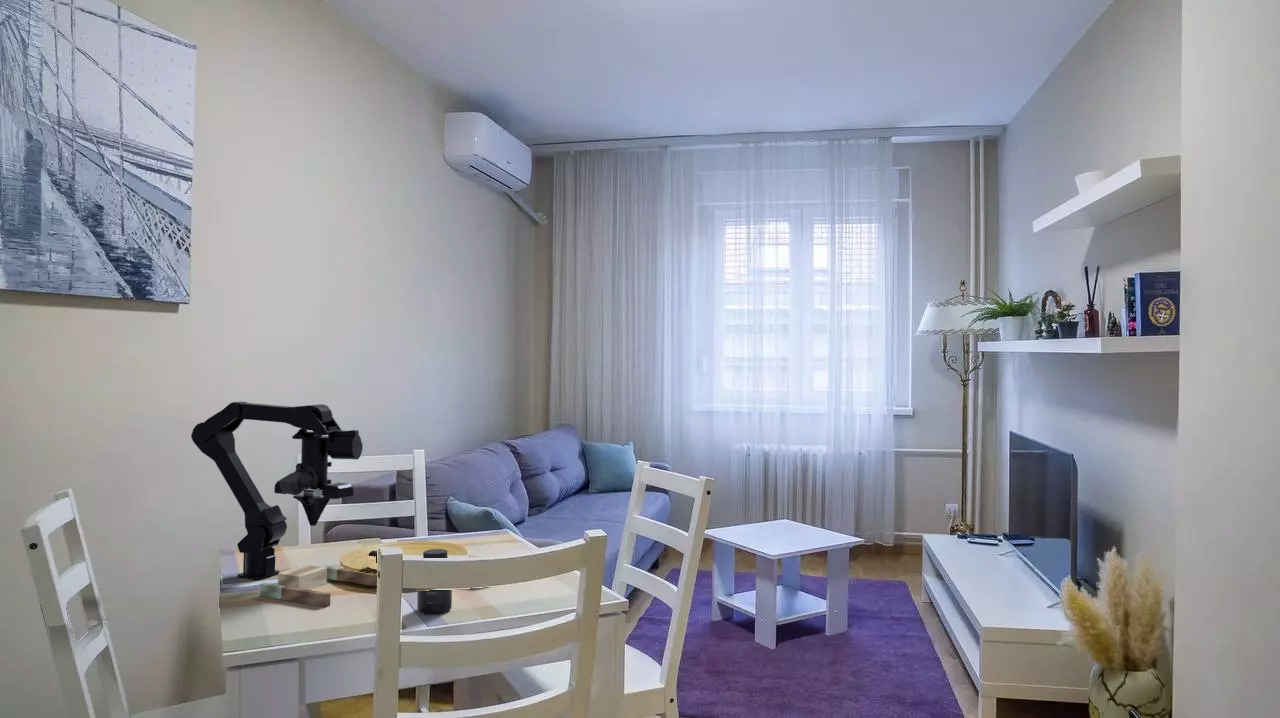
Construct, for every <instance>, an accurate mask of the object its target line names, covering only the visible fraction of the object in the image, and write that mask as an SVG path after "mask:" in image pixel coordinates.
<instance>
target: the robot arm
mask: <svg viewBox="0 0 1280 718" xmlns="http://www.w3.org/2000/svg"><path fill="white" fill-rule="evenodd" d="M245 420H249V421H261V422H270V423H271V422H273V423H282V424H283V423H284V424H287V425H291V426H292V427H294V428H299V430H298V431H297V432H296V433H295V434H293V435H292V437H291V438H292V439H293V440H301V449H300V450H301V451H300V452H301V453H300V455H301V457H300V462H299V463H297V464H296V466H295V471H293V472H290V473H289V474H287V475H286V476H284V477H282V478H281V479H279V480H276V482H275V483H274V494H281V495H291V496H292V497H293V499H296V500H297V501H298V502H299V503H300V504H301V505H302V507H303V509H304V513H305V516H306V518H307V521H308V524H309V526H311V527H315V526H316V525H317V523H318V522H319V520H320V518H321V517H322V514H323V512H324V510H325V508H326V507H327V505H328V504H329V502H330V500H331V499H332V500H339V499H343V498H348V497H353V496H354V490H355V489H354V485H352V484H351V483H349V482H348V483H347V482H335V483H332V479H329V478H328V468H329V467H331V468H332V465H333V464H332V461H328V460H329V456H330V458H331V459H332V460H355V461H357V460H359V459H360V457H361V455H362V453H363V444H364V443H363V442H362V438H361V436H360V435H359V433H360V431H359V429H352V430H342V429H341V427H340V425H339V424H338V422H337V421H336V420H335V418H334V417H333V412H332V410H331V409H330V407H329V406H328V405H327V404H323V403H319V404H311V405H310V404H309V405H300V406H299V405H297V406H289V405H288V406H287V405H275V404H274V405H273V404H266V403H265V404H264V403H256V402H255V403H253V402H247V401H232V402H230V403H228V404H227V405H226V406H225V407H224V408H223V409H221V410H220V411H219V412H216V413H215V414H213V415H212V416H211V417H209V418H207V419H206V420H205V421H204V422H200V423H197V424H195V426H194V427H193V429H192V432H191V434H190V436H191V440H192V442H193V444H194V445H195V446H196V447H197V448H198V449H199V451H200V452H201V453H202V454H204V455H205V456H207V457H209V459H211V460H212V461H213V462H214V463H215V465H216V466H217V469H218V470H219V472H220V474H221V476H222V477H223V478H224V481H225V482H226V484H227V486H228V487H229V489H230V491H231V493H232V494H233V496H234V498H235V499H236V501H237V503H238V504H239V506H240V508H241V510H242V511H243V513H244V527H245V530H246V532H247V534H246V535H245V536H244V537H243V538H242V539H241V540H240V541H239V542H237V549H238V552H239V553H241V554H243V564H242V567H243V568H242V569H243V570H242V572H240V573H238V574H237V575H236V577H238V578H243V579H250V580H258V581H259V580H262V579H264V578H268V577H271V576H274V575H278V573H280V570H278V569H277V570H276V554H275V552H276V551H275V548H274V547H275V546H278V545H279V543H280V541H281V539H282V538H283V537H284V536H285V535H286V533H287V529H288V523H287V522H286V521H287V520H288V518H287V517H286V516H284V514H283V512H282V510H281V508H280V505H278V504H275V505H273V506H270V505H269V504H268V503H266V501H265V500H264V498H263V497H262V495H261V493H260V491H259V490H258V488H257V486H256V484H255V483H254V482H253V479H252V478H251V476H250V474H249V473H248V471H247V469H246V468H245V466H244V464H243V463H242V461H241V459H240V457H239V455H238V454H237V452H236V439H235V436H234V434H233V433H234V432H235V431H236V430H238V429H239V428H240V426H241V424H242V423H243V422H244V421H245Z"/></svg>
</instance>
